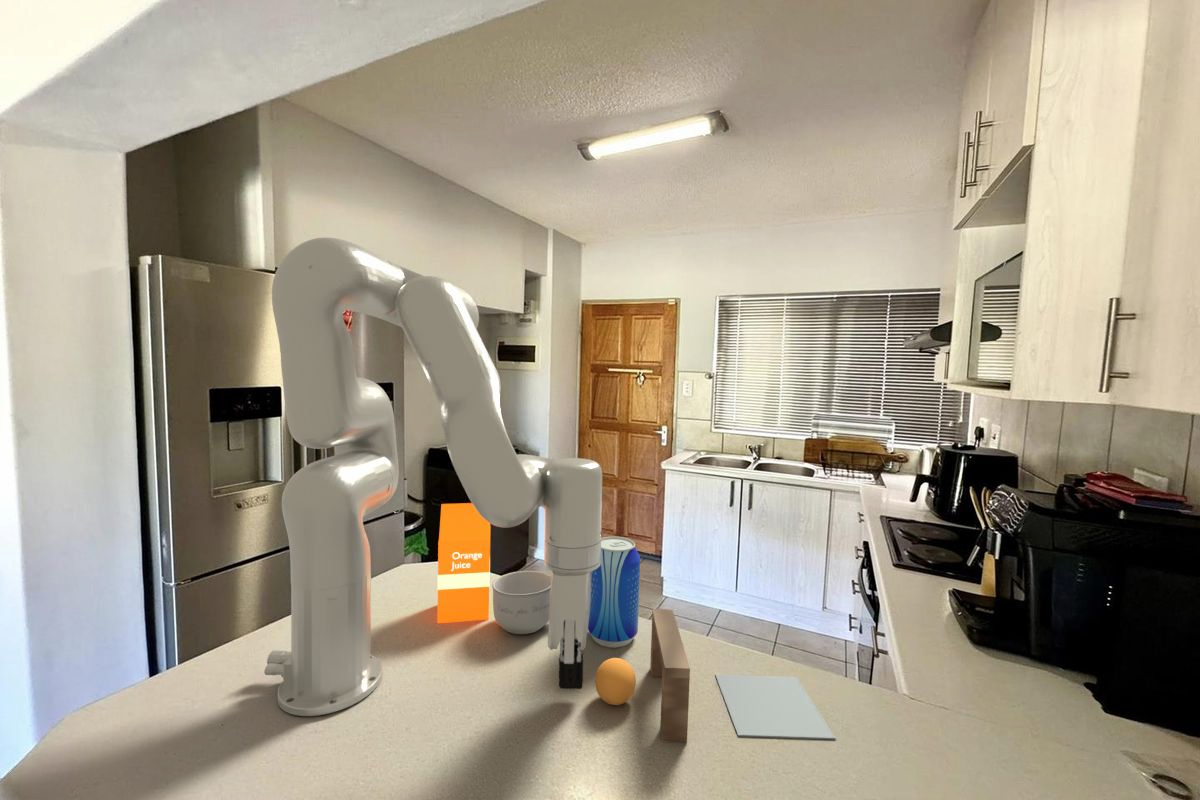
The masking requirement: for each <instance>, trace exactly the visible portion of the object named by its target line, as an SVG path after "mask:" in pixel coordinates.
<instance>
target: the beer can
mask: <svg viewBox="0 0 1200 800" xmlns="http://www.w3.org/2000/svg"><path fill="white" fill-rule="evenodd" d="M640 579H641V556H640V554H639V552H638V550H637V548H636V543H635V541H634V540H632V539H630V538H627V537H624V536H604V537H601V564H600V566H599V567H598V568H597V569H595V570H593V571H592V573H591V601H590V614H589V623H588V631H587V632H588V633H589V634H590V635H591V637H592V639H593V640H594V642H595V643H597V644H598V645H599V646H602V647H606V648H623V647H626V646H628V645H629V644H630V643H631V642H632V641H633V639H634V638H635V637H637V634H638V632H639V631H638V630H639V609H640V607H639V606H640V603H639V602H640Z"/></svg>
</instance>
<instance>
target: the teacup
mask: <svg viewBox="0 0 1200 800" xmlns="http://www.w3.org/2000/svg"><path fill="white" fill-rule="evenodd" d="M550 584H551V574H549V573H546V572H543V571H537V570H520V571H513V572H509V573H506V574H503V575H500V576H499V577H497V578H495V579H494V581H493V582H492V584H491V586H492V606H493V617H494V620H495V622H496V623H497V625H499V626H500V627H501V628H502V629H504V630H505V631H507V632H508V633H511V634H515V635H528V634H533V633H535V632H538V631H539V630H542V628H543V627H544V626H545V625H546V624H548V623H549V605H550Z"/></svg>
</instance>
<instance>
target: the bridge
mask: <svg viewBox="0 0 1200 800" xmlns="http://www.w3.org/2000/svg"><path fill="white" fill-rule="evenodd" d="M651 614H652V615H651V636H650V637H651V638H650V640H651V641H650V674H651V675H650V676H651V678H661V695H660V696H661V697H660V698H661V701H660V703H661V704H660V725H659V728H660V729H659V730H660V735H661V737H662V738H661V742H662V741H667V742H666V743H672V742H671V741H674V742H673V743H688V730H689V729H688V726H689V704H690V699H689V698H690V682H691V678H690V676H691V668H690V664H689V660H688V657H687V654H686V651H685V647H684V643H683V640H682V635H681V634H680V631H679V627H678V623H677V620H676V617H675V614H674V610H673V609H668V608H667V609H663V608H653V609H652V611H651Z"/></svg>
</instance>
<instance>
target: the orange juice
mask: <svg viewBox="0 0 1200 800" xmlns="http://www.w3.org/2000/svg"><path fill="white" fill-rule="evenodd" d="M439 520H440V521H439V534H438V535H439V536H438V543H437V545H438V548H437V550H438V551H437V552H438V553H437V557H438V559H437V624H448V623H458V622H459V623H461V622H470V621H471V622H472V621H484V620H485V621H486V620H489V619H490V615H489V614H490V582H491V581H490V578H491V576H490V575H491V523H489V522H487V521H486V520H485V519H484V518H482V516H481V515H480V514H479V513H478V512H477V510H476V509H475V507H474V506H473V504H472V503H471V502H467V503H465V502H464V503H441V507H440V519H439Z"/></svg>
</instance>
